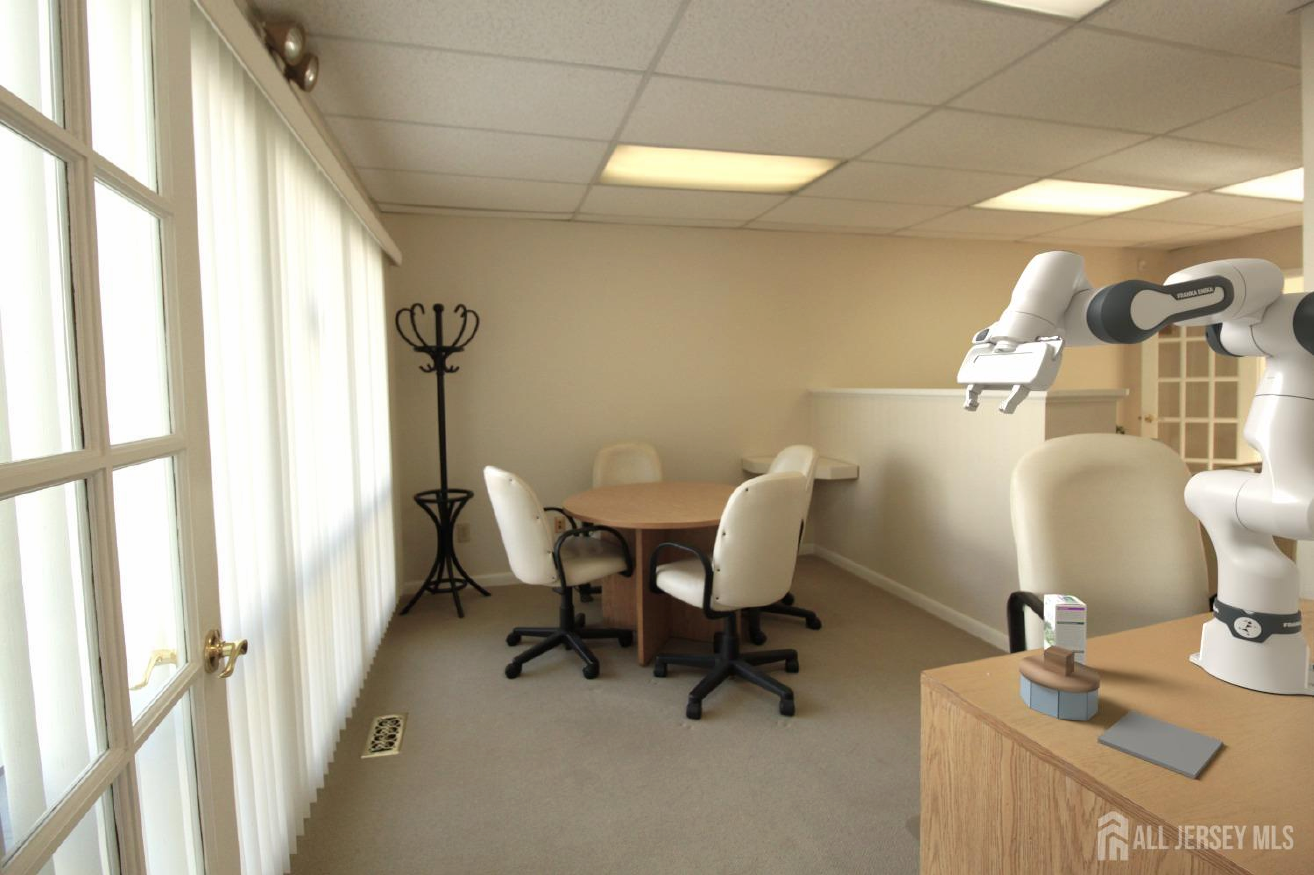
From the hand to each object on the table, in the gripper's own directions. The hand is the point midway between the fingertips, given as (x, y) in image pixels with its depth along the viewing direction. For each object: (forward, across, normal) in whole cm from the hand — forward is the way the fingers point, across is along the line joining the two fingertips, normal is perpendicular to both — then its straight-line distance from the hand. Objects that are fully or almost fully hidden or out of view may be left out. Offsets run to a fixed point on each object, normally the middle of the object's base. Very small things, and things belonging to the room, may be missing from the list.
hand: (986, 411), depth 108 cm
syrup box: (+36, +8, -45) cm, 58 cm away
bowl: (+41, -4, -35) cm, 54 cm away
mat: (+38, -18, -40) cm, 58 cm away
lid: (+36, -4, -33) cm, 49 cm away
